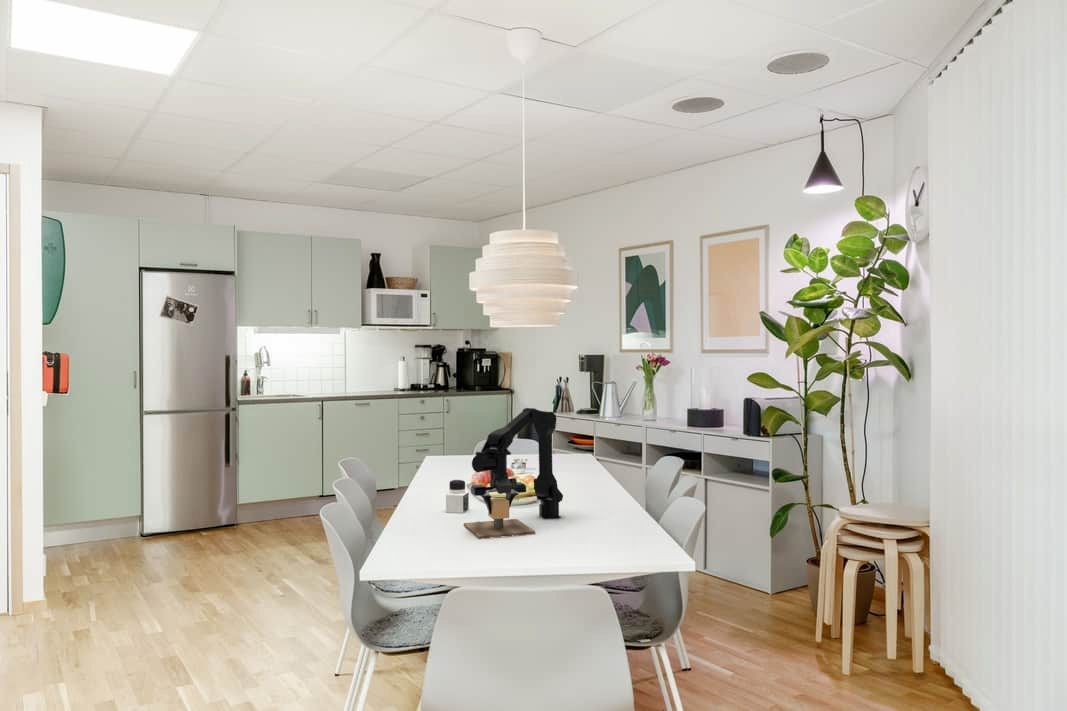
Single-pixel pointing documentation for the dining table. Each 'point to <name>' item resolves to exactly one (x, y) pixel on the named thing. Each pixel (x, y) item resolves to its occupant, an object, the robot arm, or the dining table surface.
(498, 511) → the peach wooden cube
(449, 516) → the dining table surface
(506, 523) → the wooden base with peg
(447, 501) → the medicine bottle
